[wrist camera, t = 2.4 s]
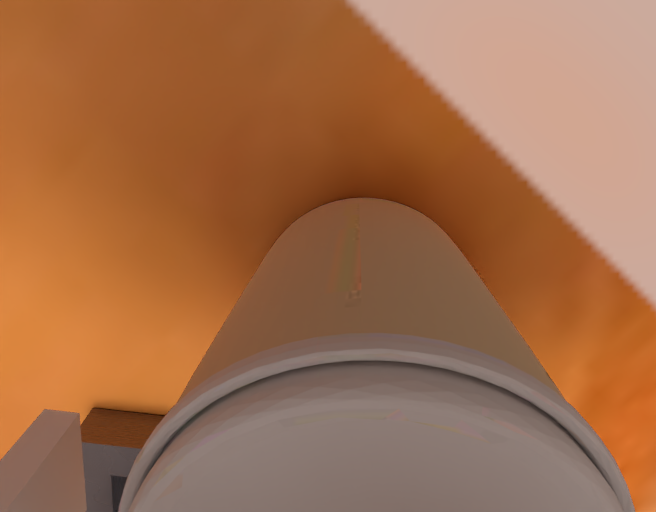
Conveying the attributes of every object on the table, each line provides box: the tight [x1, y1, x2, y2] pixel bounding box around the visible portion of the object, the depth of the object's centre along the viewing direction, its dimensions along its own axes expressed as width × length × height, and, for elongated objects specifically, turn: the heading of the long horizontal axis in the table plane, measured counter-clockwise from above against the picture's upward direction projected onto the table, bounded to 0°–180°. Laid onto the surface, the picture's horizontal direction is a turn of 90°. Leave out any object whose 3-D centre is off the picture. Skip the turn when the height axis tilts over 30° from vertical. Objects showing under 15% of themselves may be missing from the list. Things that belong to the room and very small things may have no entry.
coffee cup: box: [118, 198, 635, 512], centre depth 15 cm, size 9×9×12 cm
